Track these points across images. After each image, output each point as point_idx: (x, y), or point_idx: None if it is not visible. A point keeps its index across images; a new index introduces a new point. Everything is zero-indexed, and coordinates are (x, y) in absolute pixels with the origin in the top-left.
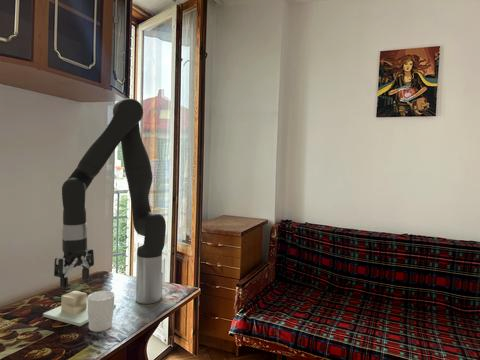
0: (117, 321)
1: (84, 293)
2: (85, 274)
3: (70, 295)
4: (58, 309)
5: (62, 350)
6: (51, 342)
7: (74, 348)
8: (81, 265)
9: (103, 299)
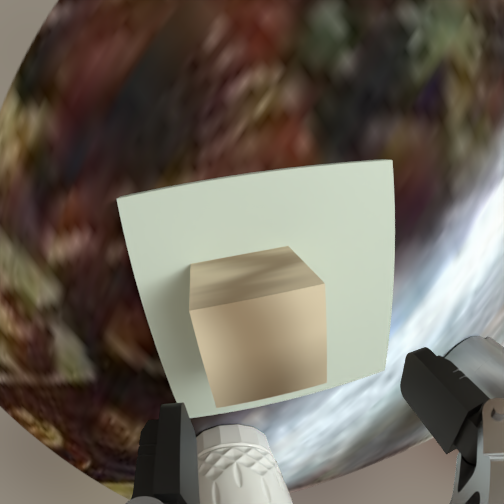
0: (288, 447)
1: (316, 378)
2: (427, 413)
3: (238, 350)
4: (203, 215)
5: (83, 459)
6: (68, 419)
7: (110, 471)
8: (478, 460)
9: (281, 498)
